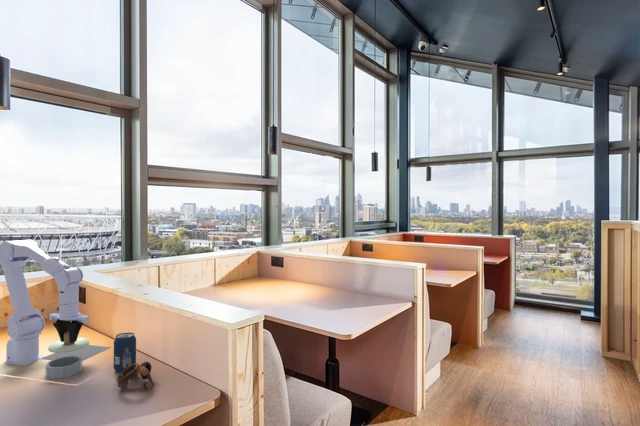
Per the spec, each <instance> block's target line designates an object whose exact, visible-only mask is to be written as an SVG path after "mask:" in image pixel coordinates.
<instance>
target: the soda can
mask: <svg viewBox="0 0 640 426" xmlns="http://www.w3.org/2000/svg"><path fill="white" fill-rule="evenodd" d="M135 363H137V338H136V336H135V333H134V332H121V333H118V334H117V335H115V339H114V340H113V370H114V371H115V372H116V373H118V374H122V372H123V371H124V370H125V369H126V368H128V367H129V366H131V365H133V364H135Z"/></svg>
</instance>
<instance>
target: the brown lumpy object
mask: <svg viewBox="0 0 640 426" xmlns="http://www.w3.org/2000/svg"><path fill="white" fill-rule="evenodd" d="M151 371H152V364H151V363H150V362H149V361H144V362H142V363H141V364H140V363H137V362H136V363H135V364H133V365H131V366H129V367H128V368H126V369H125V370H124V371H123V372H122V373H121V374H122V375H121V374H119V375H117V376H116V382H117V387H118V389H119V388H120V389H121V388H123V387H126V388H129V382H130V381H132V382H133V381H139V380H140V378H139V374H140V376H141V379H142V380H148V381H147V382H146V383H145V384H144V386H145V387H146V388H147V391H150V390H151V388H152V387H153V385H154V381H153V378H152V376H151V373H152V372H151ZM138 373H139V374H138Z"/></svg>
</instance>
